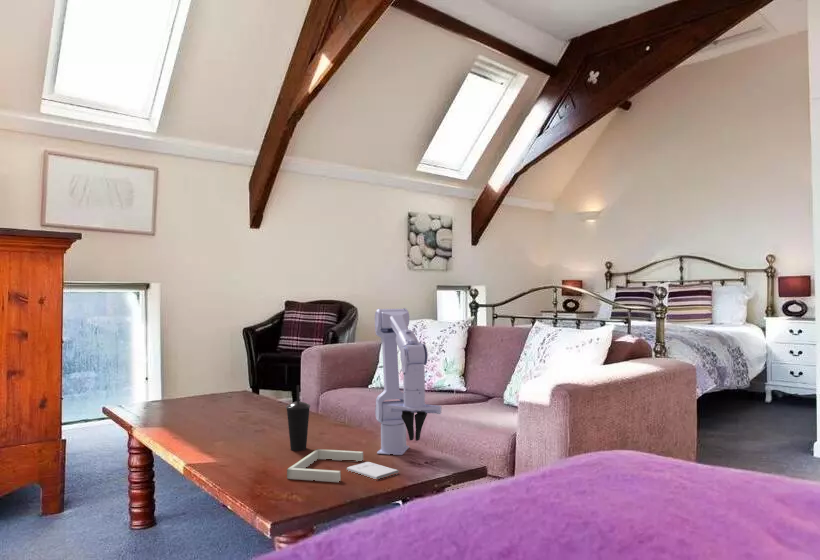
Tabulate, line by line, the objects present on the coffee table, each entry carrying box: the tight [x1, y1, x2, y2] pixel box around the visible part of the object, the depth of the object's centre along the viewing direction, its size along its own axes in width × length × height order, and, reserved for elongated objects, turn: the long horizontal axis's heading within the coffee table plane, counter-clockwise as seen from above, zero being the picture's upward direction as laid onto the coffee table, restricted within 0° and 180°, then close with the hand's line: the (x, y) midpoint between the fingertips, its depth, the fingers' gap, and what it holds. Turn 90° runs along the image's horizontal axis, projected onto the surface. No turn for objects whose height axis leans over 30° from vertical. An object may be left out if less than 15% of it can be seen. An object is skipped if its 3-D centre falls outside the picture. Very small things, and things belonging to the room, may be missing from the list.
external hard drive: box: [346, 461, 400, 480], centre depth 163 cm, size 2×8×12 cm
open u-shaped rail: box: [286, 448, 364, 483], centre depth 166 cm, size 20×14×2 cm
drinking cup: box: [285, 384, 311, 452], centre depth 188 cm, size 8×8×20 cm
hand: (414, 439), depth 160 cm, fingers closed
